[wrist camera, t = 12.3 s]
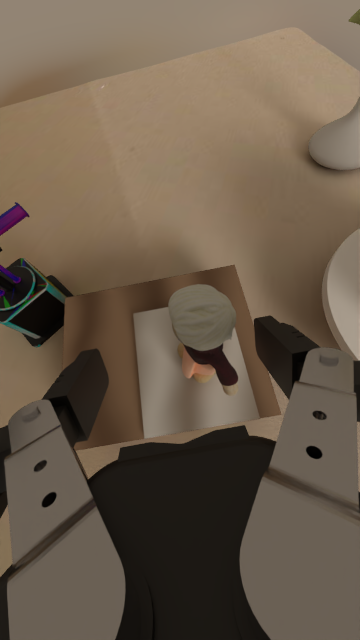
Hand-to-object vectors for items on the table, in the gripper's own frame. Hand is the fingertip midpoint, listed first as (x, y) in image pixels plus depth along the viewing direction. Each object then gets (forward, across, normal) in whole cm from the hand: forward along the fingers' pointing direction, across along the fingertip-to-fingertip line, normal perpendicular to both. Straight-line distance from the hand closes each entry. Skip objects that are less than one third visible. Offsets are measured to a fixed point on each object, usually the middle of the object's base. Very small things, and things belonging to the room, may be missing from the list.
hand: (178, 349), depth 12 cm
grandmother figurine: (+8, -1, +7) cm, 11 cm away
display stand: (+16, +3, +11) cm, 19 cm away
